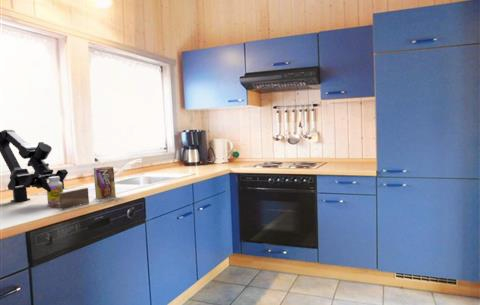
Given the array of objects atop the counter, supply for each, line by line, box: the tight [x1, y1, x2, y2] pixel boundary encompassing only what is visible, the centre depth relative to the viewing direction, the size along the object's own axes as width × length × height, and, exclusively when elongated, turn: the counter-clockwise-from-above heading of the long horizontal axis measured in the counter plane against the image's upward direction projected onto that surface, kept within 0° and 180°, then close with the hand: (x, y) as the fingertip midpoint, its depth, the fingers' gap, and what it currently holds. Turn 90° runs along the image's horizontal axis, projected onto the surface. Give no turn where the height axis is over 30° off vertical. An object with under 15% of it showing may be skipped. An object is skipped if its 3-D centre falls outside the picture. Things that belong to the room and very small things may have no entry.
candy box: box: [93, 166, 117, 200], centre depth 185 cm, size 9×4×15 cm, turn 129°
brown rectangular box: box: [48, 187, 90, 210], centre depth 169 cm, size 10×14×7 cm
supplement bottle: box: [46, 176, 64, 205], centre depth 173 cm, size 7×7×13 cm
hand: (56, 190), depth 172 cm, fingers closed on supplement bottle, 7 cm apart
